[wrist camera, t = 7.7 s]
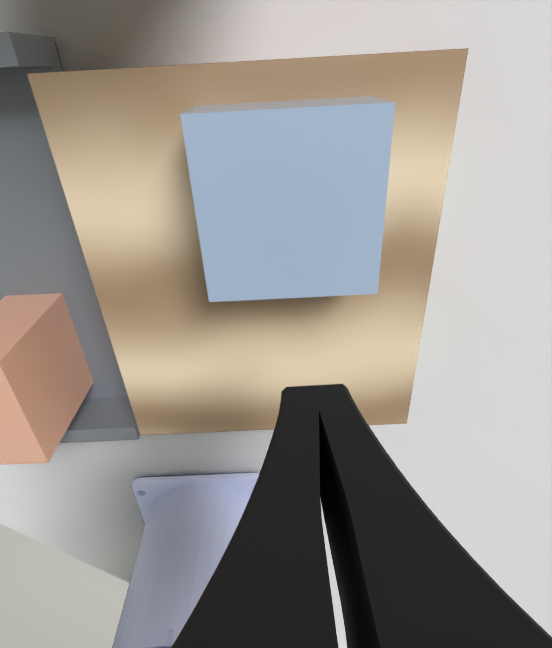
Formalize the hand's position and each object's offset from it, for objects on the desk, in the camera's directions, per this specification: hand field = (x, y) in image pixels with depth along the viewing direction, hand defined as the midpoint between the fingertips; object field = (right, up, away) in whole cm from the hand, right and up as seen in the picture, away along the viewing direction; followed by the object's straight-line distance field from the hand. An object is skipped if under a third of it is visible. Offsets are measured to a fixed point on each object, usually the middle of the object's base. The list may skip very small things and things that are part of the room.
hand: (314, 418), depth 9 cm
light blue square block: (0, +6, +4) cm, 7 cm away
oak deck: (-1, +5, +9) cm, 10 cm away
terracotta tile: (-10, 0, +8) cm, 13 cm away
